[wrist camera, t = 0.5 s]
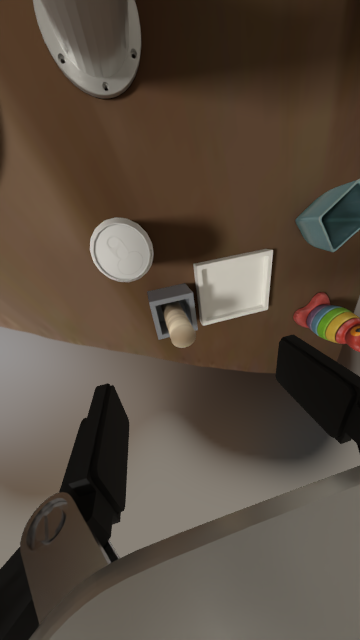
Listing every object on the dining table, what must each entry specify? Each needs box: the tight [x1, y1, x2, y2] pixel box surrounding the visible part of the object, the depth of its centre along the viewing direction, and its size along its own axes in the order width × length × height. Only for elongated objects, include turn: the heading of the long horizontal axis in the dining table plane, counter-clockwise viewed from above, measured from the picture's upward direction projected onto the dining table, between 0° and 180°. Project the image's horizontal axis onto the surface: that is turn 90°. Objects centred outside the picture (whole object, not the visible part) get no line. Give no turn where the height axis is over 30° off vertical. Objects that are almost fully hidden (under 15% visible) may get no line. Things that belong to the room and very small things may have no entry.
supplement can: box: [90, 218, 154, 282], centre depth 30 cm, size 8×8×15 cm
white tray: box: [193, 249, 273, 326], centre depth 44 cm, size 15×18×2 cm
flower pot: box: [296, 179, 360, 252], centre depth 38 cm, size 9×9×9 cm
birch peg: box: [161, 301, 196, 348], centre depth 37 cm, size 4×4×14 cm
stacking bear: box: [293, 292, 360, 352], centre depth 47 cm, size 11×10×18 cm
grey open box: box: [147, 283, 198, 339], centre depth 41 cm, size 9×9×7 cm
